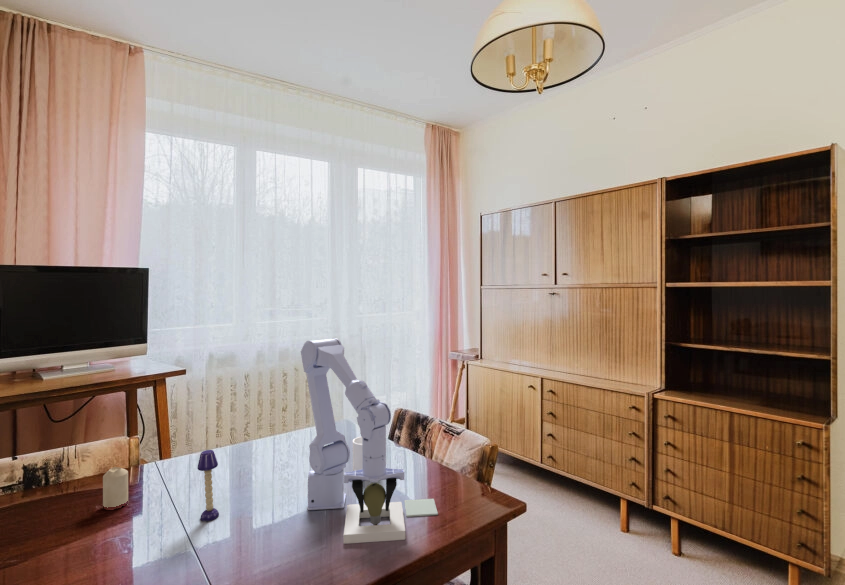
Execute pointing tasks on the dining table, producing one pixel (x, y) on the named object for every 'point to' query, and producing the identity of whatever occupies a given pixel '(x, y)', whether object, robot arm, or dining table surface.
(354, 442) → the cup
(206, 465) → the toy lamp
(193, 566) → the dining table surface
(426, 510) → the rubber pad
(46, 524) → the dining table surface
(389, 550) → the dining table surface
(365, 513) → the socket block
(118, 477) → the candle
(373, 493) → the light bulb
